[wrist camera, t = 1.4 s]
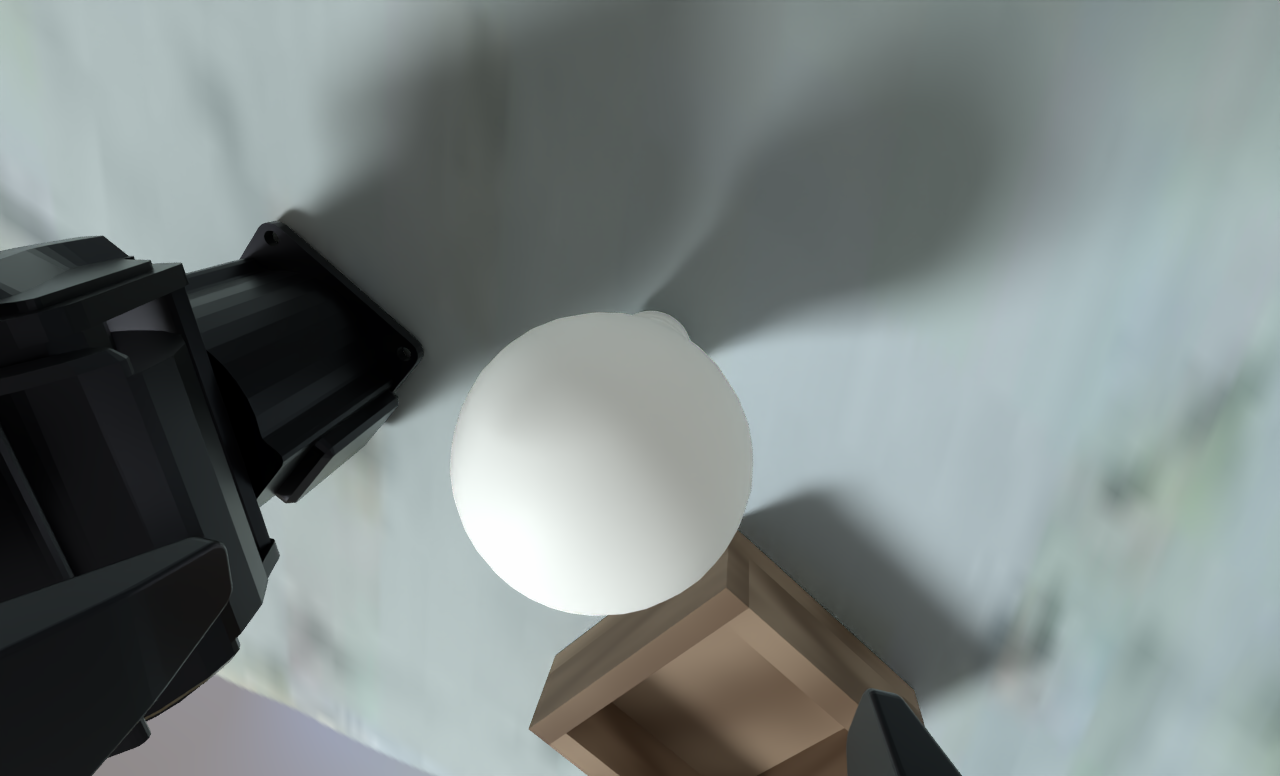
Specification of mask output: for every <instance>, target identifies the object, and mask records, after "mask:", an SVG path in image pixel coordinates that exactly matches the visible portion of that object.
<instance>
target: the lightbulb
mask: <svg viewBox="0 0 1280 776" xmlns="http://www.w3.org/2000/svg"><path fill="white" fill-rule="evenodd" d="M752 472H753V449H752V442H751V436H750V430H749V424H748V421H747V419H746V416H745V413H744V411H743V408H742V406H741V403H740V401H739V398H738V396H737V395H736V393H735V391H734V390H733V388H732V387H731V385H730V384H729V382H728V381H727V379H726V377H725V376H724V374H723V373H722V371H721V370H720V368H719V367H718V365H717V364H716V363H715V362H714V361H713V360H712V359H711V358H710V357H709V356H708V355H707V354H706V353H705V352H704V351H703V350H702V349H701V348H700V347H699V346H698V345H696V344H695V343H693V342H692V341H690V338H689V336H688V333H687V331H686V330H685V328H684V327H683V326H682V325H681V324H680V323H679V322H678V320H676V319H675V318H673V317H672V316H670V315H668V314H665V313H663V312H658V311H642V312H638V313H636V314H633V315H630V314H625V313H609V312H593V313H587V314H580V315H574V316H568V317H564V318H559V319H556V320H553V321H551V322H548V323H545V324H543V325H540V326H538V327H535V328H532V329H531V330H529V331H528V332H526V333H525V334H523V335H522V336H520V337H519V338H517V339H515V340H514V341H512V342H511V343H509V344H508V345H507V346H506V347H505V348H504V349H503V350H502V351H500V352H499V353H498V354H497V356H496V357H495V358H494V359H493V360H492V361H491V362H490V363H489V364H488V365H487V366H486V367H485V368H484V369H483V370H482V371H481V373H480V374H479V376H478V378H477V379H476V381H475V383H474V385H473V386H472V388H471V390H470V391H469V393H468V395H467V397H466V399H465V401H464V403H463V405H462V407H461V410H460V414H459V417H458V420H457V423H456V427H455V430H454V434H453V441H452V448H451V462H450V476H451V483H452V490H453V496H454V499H455V503H456V506H457V509H458V512H459V515H460V518H461V521H462V523H463V526H464V529H465V531H466V533H467V535H468V536H469V538H470V540H471V542H472V543H473V545H474V547H475V548H476V550H477V551H478V552H479V554H480V555H481V556H482V557H483V558H484V560H485V561H486V562H487V563H488V564H489V566H490V567H491V568H492V569H493V570H494V572H495V573H496V574H497V575H498V576H499V577H501V578H502V579H503V580H504V581H505V582H506V583H508V584H509V585H510V586H511V587H512V588H514V589H515V590H517V591H518V592H520V593H522V594H523V595H525V596H526V597H528V598H530V599H531V600H534V601H536V602H538V603H541V604H543V605H545V606H547V607H550V608H553V609H557V610H560V611H564V612H568V613H572V614H581V615H590V616H598V615H617V614H626V613H631V612H635V611H640V610H644V609H647V608H650V607H652V606H654V605H657V604H659V603H661V602H664V601H666V600H668V599H670V598H672V597H674V596H676V595H678V594H680V593H681V592H683V591H684V590H686V589H687V588H689V587H690V586H692V585H693V584H695V583H696V582H697V581H699V580H700V579H701V578H702V577H703V576H704V575H705V574H706V573H707V572H708V570H709V569H710V568H711V567H712V566H713V565H714V564H715V563H716V562H717V561H718V559H719V558H720V557H721V556H722V554H723V553H724V552H725V550H726V549H727V547H728V545H729V544H730V542H731V540H732V539H733V537H734V535H735V533H736V532H737V530H738V528H739V525H740V523H741V520H742V518H743V515H744V512H745V509H746V506H747V502H748V499H749V496H750V493H751V486H752Z"/></svg>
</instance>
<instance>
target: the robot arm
mask: <svg viewBox="0 0 1280 776" xmlns="http://www.w3.org/2000/svg"><path fill="white" fill-rule="evenodd" d="M273 232H275V233H276V235H277V236H278V239H279V242H278V243H277V242H276V241H275V240H274V239H273V235H272V234H273ZM403 347H406V348H408V349H409V351H410V352H411V357H409V356H407V355H405V353H404V352H403ZM422 357H423V348H422V345H421V344H420V343H419V341H418V340H417V339H416V338H414V337H413V336H412V335H411V334H410V333H409V332H408V331H406V330H405V329H404V328H403V327H402V326H401V325H400V324H398V323H397V322H396V321H395V320H394V319H393V318H392V317H391V316H389V315H388V314H387V313H386V312H385V311H384V310H383V309H381V308H380V307H379V306H378V305H377V304H376V303H375V302H373V301H372V300H371V299H370V298H369V297H368V296H367V295H365V294H364V293H363V292H362V291H361V290H360V289H359V288H357V287H356V286H355V285H354V284H353V283H352V282H351V281H350V280H348V279H347V278H346V277H345V276H344V275H343V274H342V273H340V272H339V271H338V270H337V269H336V268H335V267H334V266H332V265H331V264H330V263H329V262H328V261H327V260H326V259H324V258H323V257H322V256H321V255H320V254H319V253H318V252H316V251H315V250H314V249H313V248H312V247H311V246H310V245H309V244H307V243H306V242H305V241H304V240H303V239H302V238H301V237H299V236H298V235H297V234H296V233H295V232H294V231H293V230H291V229H290V228H289V227H288V226H287V225H285V224H284V223H282V222H279V221H273V222H268V223H264V224H262V225H261V226H260V227H259V228H258V230H257V231H256V233H255V234H254V236H253V238H252V239H251V241H250V243H249V244H248V246H247V248H246V249H245V251H244V253H243V254H242V256H241V258H240V259H239V260H236V261H232V262H228V263H224V264H221V265H217V266H213V267H209V268H205V269H201V270H198V271H194V272H190V273H186V274H185V271H184V268H183V265H182V263H158V264H152V263H151V260H135V259H134V256H128V255H127V254H125V253H124V252H123V251H122V250H120V249H119V248H118V247H117V246H115V245H114V244H113V243H112V242H110V241H109V240H108V239H107V238H105V237H104V236H88V237H78V238H72V239H65V240H59V241H53V242H47V243H41V244H35V245H29V246H24V247H18V248H13V249H8V250H3V251H0V776H92V775H93V774H94V773H95V771H96V770H97V769H98V768H99V767H100V766H101V765H102V763H103V762H104V761H105V760H106V759H107V758H109V757H111V756H114V755H117V754H120V753H122V752H125V751H128V750H130V749H133V748H136V747H138V746H140V745H141V744H143V743H144V742H145V741H146V740H147V739H148V738H149V737H150V735H151V732H150V729H149V727H148V725H147V723H146V721H148V720H150V719H152V718H154V717H156V716H158V715H160V714H161V713H163V712H164V711H166V710H168V709H169V708H171V707H173V706H174V705H176V704H177V703H179V702H180V701H182V700H183V699H184V698H186V697H187V696H188V695H189V694H191V693H192V692H193V691H195V690H196V689H197V688H198V687H200V686H201V685H202V684H204V683H205V682H207V681H208V680H209V679H210V678H211V677H212V676H213V675H215V674H216V673H217V672H218V671H219V670H220V669H222V668H223V667H224V666H225V665H226V664H227V663H229V662H230V661H231V659H232V658H233V657H234V656H235V655H236V653H237V652H238V651H239V649H240V643H239V640H238V638H237V637H238V636H239V635H240V634H241V633H242V631H243V630H244V629H245V627H246V626H247V624H248V623H249V622H250V620H251V619H252V618H253V616H254V615H255V613H256V612H257V611H258V609H259V608H260V606H261V605H262V603H263V599H264V595H265V591H266V587H267V583H268V577H269V575H270V573H271V572H272V570H273V568H274V566H275V564H276V562H277V561H278V559H279V556H280V555H279V552H278V549H277V546H276V543H275V540H274V539H271V538H269V535H268V532H267V529H266V526H265V523H264V520H263V517H262V514H261V511H260V508H259V507H261V506H262V505H263V504H265V503H266V502H267V501H268V500H270V499H271V498H272V497H274V496H275V495H276V496H277V497H278V498H280V499H281V500H282V501H283V502H285V503H295V502H297V501H299V500H300V499H301V498H302V497H303V496H305V495H306V494H307V493H308V492H309V491H311V490H312V489H313V488H314V487H315V486H317V485H318V484H319V483H320V482H322V481H323V480H324V479H325V478H326V477H328V476H329V475H330V474H331V473H332V472H334V471H335V470H336V469H337V468H338V467H340V466H341V465H342V464H343V463H344V462H346V461H347V460H348V459H349V458H350V457H352V456H353V455H354V454H355V453H357V452H358V451H359V450H360V449H361V448H363V447H364V446H365V445H366V443H367V442H368V441H369V440H370V439H371V437H372V436H373V435H374V434H375V433H376V432H377V430H378V429H379V428H380V427H381V426H382V424H383V423H384V422H385V421H386V420H387V418H388V417H389V416H390V415H391V414H392V412H393V411H394V410H395V409H396V408H397V406H398V396H396V395H395V394H394V392H395V391H396V390H397V389H398V387H399V386H400V385H401V384H402V382H403V381H404V380H405V379H406V378H407V376H408V375H409V374H410V373H411V372H412V370H413V369H414V368H415V367H416V366H417V364H418V363H419V362H420V361H421V359H422ZM846 756H847V776H962V775H961V774H960V772H959V771H958V770H957V768H956V767H955V766H954V765H953V763H952V762H951V761H950V759H949V758H948V757H947V755H946V754H945V753H944V752H943V750H942V749H941V748H940V746H939V745H938V744H937V742H936V741H935V740H934V738H933V737H932V736H931V735H930V733H929V732H928V731H927V729H926V728H925V727H924V725H923V724H922V723H921V722H920V720H919V719H918V718H917V716H916V715H915V714H914V712H913V711H912V710H911V708H910V707H909V706H908V705H907V703H906V702H905V701H904V700H903V698H901V697H900V696H899V695H897V694H895V693H891V692H886V691H882V690H878V689H873V688H870V689H867V690H866V691H865V692H864V693H863V695H862V697H861V700H860V702H859V705H858V707H857V710H856V712H855V715H854V718H853V720H852V723H851V725H850V728H849V731H848V735H847V743H846Z"/></svg>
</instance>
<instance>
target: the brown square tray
mask: <svg viewBox="0 0 1280 776" xmlns="http://www.w3.org/2000/svg"><path fill="white" fill-rule="evenodd" d="M870 688H873V689H878V690H882V691H886V692H891V693H895V694H897V695H899V696H900V697H901V698H903V700H904V701H905V702H906V703H907V705H908V706H909V707H910V708H911V710H912V711H913V712H914V714H915V715H916V716H917V718H918V719H919V720H920V722H921V723H922V724H923V725H924V722H923V719H922V715H921V712H920V709H919V705H918V702H917V698H916V695H915V692H914V690H913V689H912V688H911V687H910V686H909V685H908V684H907V683H906V682H904V681H903V680H902V679H901V678H900V677H899V676H898V675H897V674H896V673H895V672H893V671H892V670H891V669H890V668H889V667H888V666H887V665H886V664H885V663H884V662H882V661H881V660H880V659H879V658H878V657H877V656H876V655H875V654H874V653H873V652H871V651H870V650H869V649H868V648H867V647H866V646H865V645H864V644H863V643H862V642H860V641H859V640H858V639H857V638H856V637H855V636H854V635H853V634H852V633H851V632H849V631H848V630H847V629H846V628H845V627H844V626H843V625H842V624H841V623H840V622H839V621H837V620H836V619H835V618H834V617H833V616H832V615H831V614H830V613H829V612H828V611H826V610H825V609H824V608H823V607H822V606H821V605H820V604H819V603H818V602H817V601H815V600H814V599H813V598H812V597H811V596H810V595H809V594H808V593H807V592H806V591H804V590H803V589H802V588H801V587H800V586H799V585H798V584H797V583H796V582H795V581H793V580H792V579H791V578H790V577H789V576H788V575H787V574H786V573H785V572H784V571H782V570H781V569H780V568H779V567H778V566H777V565H776V564H775V563H774V562H773V561H771V560H770V559H769V558H768V557H767V556H766V555H765V554H764V553H763V552H762V551H760V550H759V549H758V548H757V547H756V546H755V545H754V544H753V543H752V542H751V541H749V540H748V539H747V538H746V537H745V536H744V535H743V534H742V533H741V532H740V531H738V530H737V532H736V533H735V535H734V537H733V539H732V540H731V542H730V544H729V545H728V547H727V549H726V550H725V552H724V553H723V554H722V556H721V557H720V558H719V559H718V561H717V562H716V563H715V564H714V565H713V566H712V567H711V568H710V569H709V570H708V572H707V573H706V574H705V575H704V576H703V577H702V578H701V579H700V580H699V581H697V582H696V583H695V584H693V585H692V586H690V587H689V588H687V589H686V590H684V591H683V592H681V593H680V594H678V595H676V596H674V597H672V598H670V599H668V600H666V601H664V602H661V603H659V604H657V605H654V606H652V607H650V608H647V609H644V610H640V611H635V612H631V613H626V614H617V615H608V616H607V617H605V618H604V619H603V620H601V621H600V622H599V623H598V624H596V625H595V626H594V627H592V628H591V629H590V630H588V631H587V632H586V633H585V634H583V635H582V636H581V637H579V638H578V639H577V640H575V641H574V642H573V643H571V644H570V645H569V646H568V647H566V648H565V649H564V650H562V651H561V652H560V653H558V654H557V655H556V656H555V658H554V661H553V664H552V666H551V669H550V672H549V675H548V677H547V680H546V683H545V686H544V688H543V691H542V694H541V696H540V699H539V702H538V705H537V707H536V710H535V713H534V716H533V718H532V721H531V724H530V727H529V730H530V731H532V732H533V733H534V734H536V735H537V736H538V737H539V738H541V739H542V740H543V741H544V742H546V743H547V744H548V745H550V746H551V747H552V748H553V749H555V750H556V751H557V752H558V753H560V754H561V755H562V756H564V757H565V758H566V759H567V760H569V761H570V762H571V763H572V764H574V765H575V766H576V767H578V768H579V769H580V770H581V771H583V772H584V773H585V774H587V775H588V776H847V756H846V743H847V735H848V731H849V728H850V725H851V723H852V720H853V718H854V715H855V712H856V710H857V707H858V705H859V702H860V700H861V697H862V695H863V693H864V692H865V691H866V690H867V689H870ZM924 727H925V726H924Z"/></svg>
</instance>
